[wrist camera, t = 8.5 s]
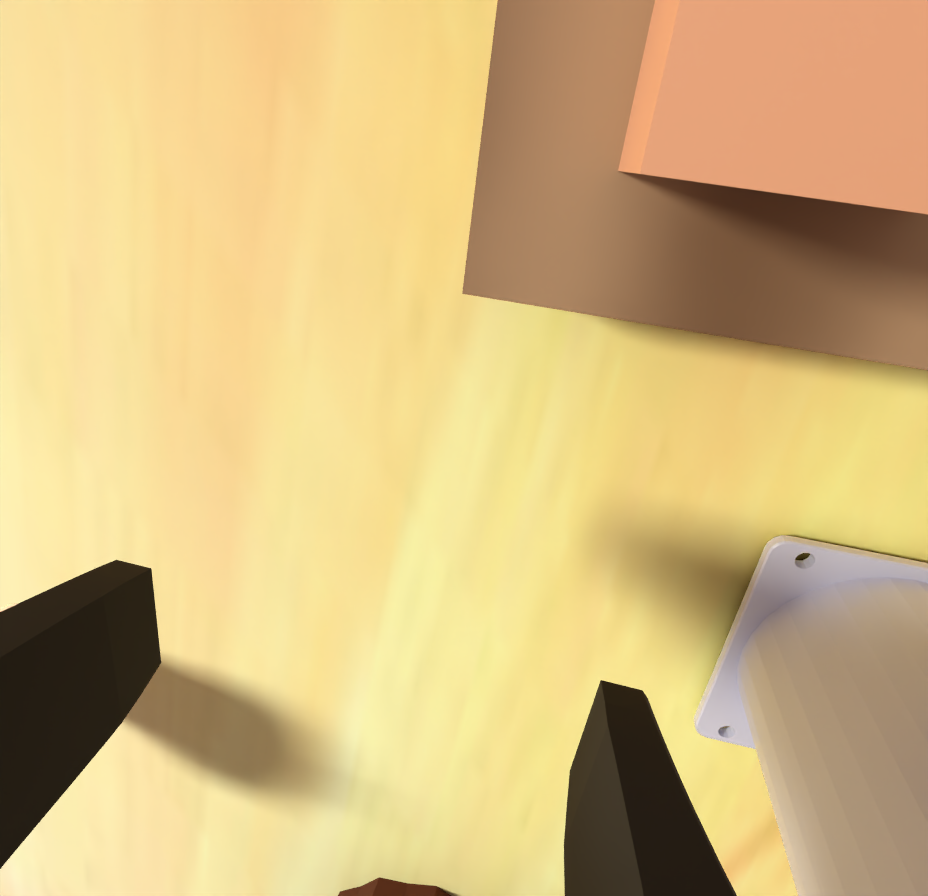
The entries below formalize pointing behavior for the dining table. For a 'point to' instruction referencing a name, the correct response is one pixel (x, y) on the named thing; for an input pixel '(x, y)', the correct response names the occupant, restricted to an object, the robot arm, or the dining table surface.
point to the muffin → (393, 889)
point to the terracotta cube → (787, 99)
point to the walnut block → (666, 211)
